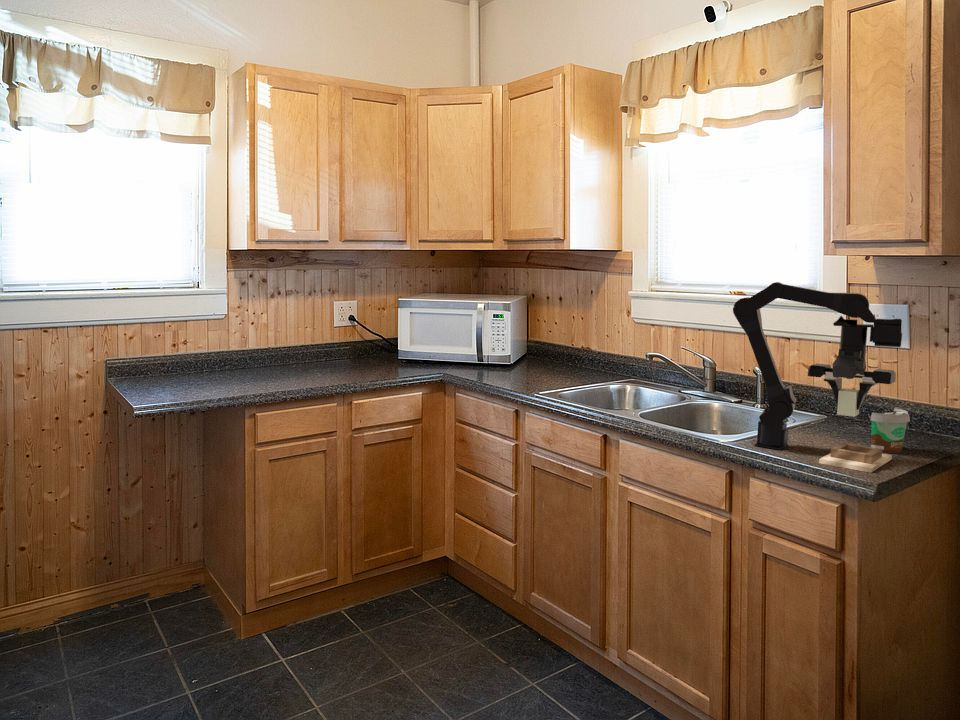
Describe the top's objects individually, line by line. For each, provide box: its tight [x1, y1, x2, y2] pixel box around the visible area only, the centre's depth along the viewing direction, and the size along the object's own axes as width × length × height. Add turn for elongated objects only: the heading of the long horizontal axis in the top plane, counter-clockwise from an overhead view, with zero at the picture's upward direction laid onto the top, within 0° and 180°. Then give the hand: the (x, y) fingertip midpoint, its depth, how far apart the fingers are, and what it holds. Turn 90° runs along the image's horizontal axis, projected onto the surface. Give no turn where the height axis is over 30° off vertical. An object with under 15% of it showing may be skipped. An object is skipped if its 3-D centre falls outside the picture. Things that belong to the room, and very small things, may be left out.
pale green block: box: [836, 388, 860, 418], centre depth 191 cm, size 4×4×6 cm
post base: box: [818, 442, 893, 474], centre depth 187 cm, size 12×17×3 cm
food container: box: [869, 407, 911, 454], centre depth 197 cm, size 12×6×10 cm, turn 126°
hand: (848, 408), depth 191 cm, fingers closed on pale green block, 4 cm apart
